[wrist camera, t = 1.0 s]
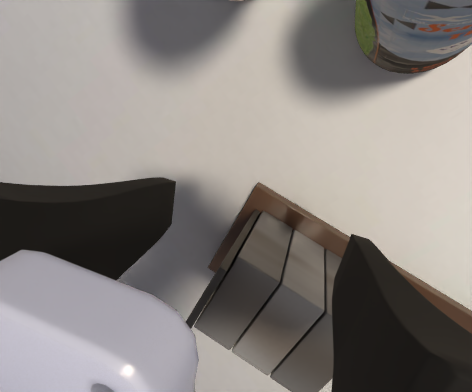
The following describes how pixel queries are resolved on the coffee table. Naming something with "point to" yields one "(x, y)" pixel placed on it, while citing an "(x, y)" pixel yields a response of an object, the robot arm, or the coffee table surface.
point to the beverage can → (413, 32)
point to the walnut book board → (284, 292)
